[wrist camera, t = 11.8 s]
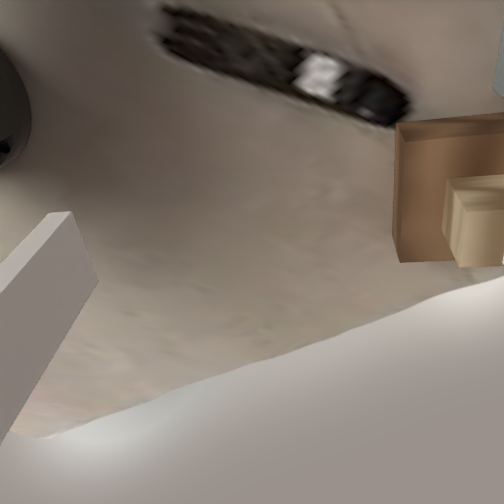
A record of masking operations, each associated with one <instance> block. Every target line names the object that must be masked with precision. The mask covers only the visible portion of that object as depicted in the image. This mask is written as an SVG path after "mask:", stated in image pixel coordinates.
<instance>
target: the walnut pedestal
mask: <svg viewBox="0 0 504 504" xmlns="http://www.w3.org/2000/svg"><path fill="white" fill-rule="evenodd" d="M503 174H504V113H494V114H484V115H473V116H463V117H453V118H443V119H433V120H422V121H412V122H402V123H396V140H395V170H394V200H393V231H392V236H393V240H394V244H395V247H396V251H397V254H398V258H399V262H400V263H403V262H425V261H446V260H455V258H454V255H453V253H452V251H451V249H450V247H449V245H448V242H447V240H446V238H445V236H444V234H443V232H442V220H443V210H444V201H445V191H446V181H447V179H448V178H462V177H475V176H489V175H503Z"/></svg>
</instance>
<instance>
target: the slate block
mask: <svg viewBox="0 0 504 504" xmlns="http://www.w3.org/2000/svg"><path fill="white" fill-rule="evenodd" d="M493 90H494V91H495V92H497V93H498V94H500V95H501V96H502V97H504V24H503V30H502V36H501V42H500V48H499V54H498V60H497V66H496V72H495V78H494V84H493Z"/></svg>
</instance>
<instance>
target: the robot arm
mask: <svg viewBox="0 0 504 504" xmlns="http://www.w3.org/2000/svg"><path fill="white" fill-rule="evenodd" d="M30 128H31V112H30V105H29V101H28V97H27V94H26V91H25V88H24V86H23V83H22V81H21V79H20V77H19V75H18V74H17V72H16V70H15V68H14V67H13V65H12V64H11V62H10V61H9V60H8V58H7V57H6V56H5V54H4V53H3V52H2V51H1V50H0V168H2V167H3V166H5V165H6V164H8V163H9V162H11V161H12V160H14V159H15V158H16V157H17V156H18V155H19V154H20V153H21V152H22V150H23V149H24V147H25V145H26V143H27V141H28V138H29V134H30ZM502 263H503V265H504V256H503V260H502ZM97 283H98V279H97V276H96V273H95V271H94V268H93V266H92V263H91V260H90V258H89V255H88V253H87V250H86V247H85V245H84V242H83V239H82V237H81V234H80V232H79V229H78V226H77V224H76V221H75V219H74V216H73V213H72V211H67V212H53V213H48V214H47V215H46V216H45V217H44V219H43V220H42V221H41V222H40V223H39V224H38V225H37V226H36V227H35V228H34V229H33V230H32V231H31V232H30V233H29V234H28V235H27V237H26V238H25V239H24V240H23V241H22V242H21V243H20V244H19V245H18V246H17V247H16V248H15V249H14V250H13V251H12V252H11V253H10V254H9V256H8V257H7V258H6V259H5V260H4V261H3V262H2V263H1V264H0V444H1V442H2V441H3V439H4V438H5V436H6V434H7V432H8V431H9V429H10V428H11V426H12V424H13V423H14V421H15V419H16V418H17V416H18V414H19V413H20V411H21V409H22V408H23V406H24V404H25V403H26V401H27V399H28V398H29V396H30V394H31V393H32V391H33V389H34V388H35V386H36V384H37V383H38V381H39V379H40V378H41V376H42V374H43V373H44V371H45V369H46V368H47V366H48V364H49V363H50V361H51V359H52V358H53V356H54V354H55V353H56V351H57V349H58V348H59V346H60V344H61V343H62V341H63V339H64V338H65V336H66V334H67V333H68V331H69V329H70V328H71V326H72V324H73V323H74V321H75V320H76V318H77V316H78V315H79V313H80V311H81V310H82V308H83V306H84V305H85V303H86V301H87V300H88V298H89V296H90V295H91V293H92V291H93V290H94V288H95V286H96V285H97Z"/></svg>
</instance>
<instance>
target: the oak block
mask: <svg viewBox="0 0 504 504" xmlns="http://www.w3.org/2000/svg"><path fill="white" fill-rule="evenodd" d="M442 232H443V234H444V236H445V238H446V240H447V242H448V245H449V247H450V249H451V251H452V253H453V255H454V258H455V260H456V262H457V264H458V266H459V268H461V267H485V266H504V265H503V263H502V260H503V256H504V174H503V175H489V176H475V177H462V178H448V179H447V181H446V191H445V201H444V210H443V220H442Z"/></svg>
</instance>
